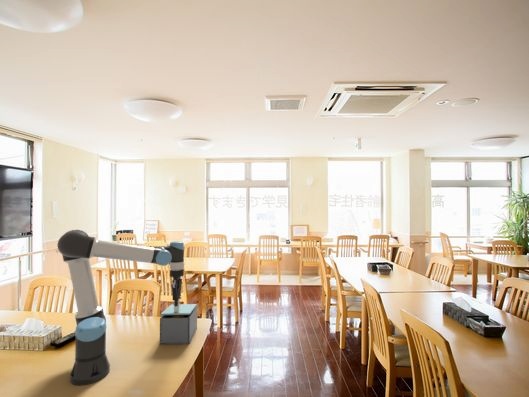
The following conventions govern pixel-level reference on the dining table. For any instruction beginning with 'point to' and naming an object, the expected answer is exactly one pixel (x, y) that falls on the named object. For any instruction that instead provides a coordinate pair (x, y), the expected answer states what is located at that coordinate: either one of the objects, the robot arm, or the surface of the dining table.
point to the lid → (184, 309)
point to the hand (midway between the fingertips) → (176, 311)
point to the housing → (178, 328)
